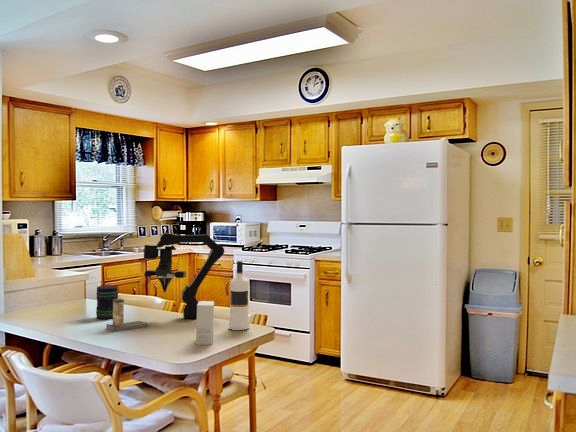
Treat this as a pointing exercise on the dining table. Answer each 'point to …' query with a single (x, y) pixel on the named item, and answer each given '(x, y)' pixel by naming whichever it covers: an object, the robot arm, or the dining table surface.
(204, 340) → the skincare box
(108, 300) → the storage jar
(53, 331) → the dining table surface
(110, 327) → the fader track
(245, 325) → the vodka
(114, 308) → the lever
